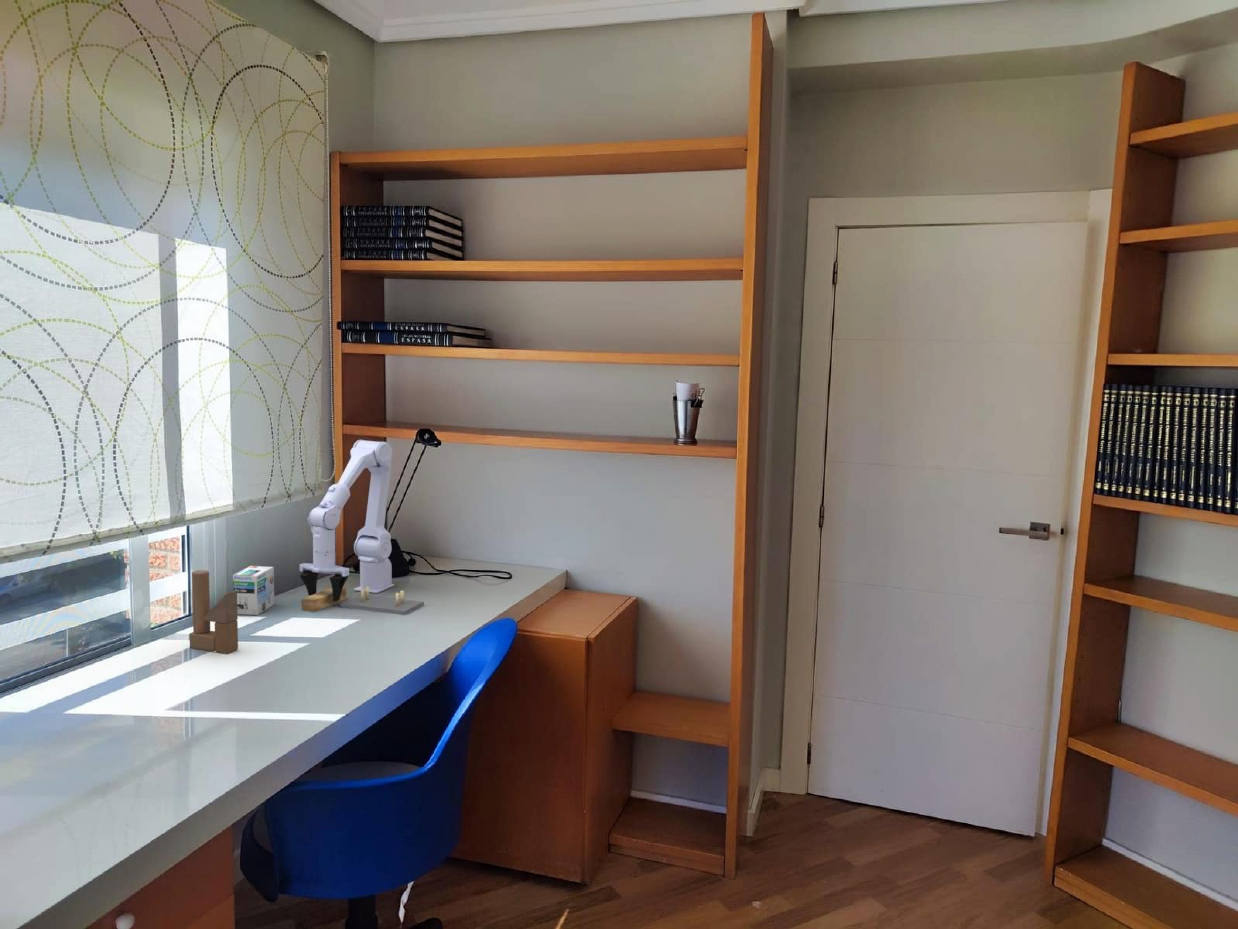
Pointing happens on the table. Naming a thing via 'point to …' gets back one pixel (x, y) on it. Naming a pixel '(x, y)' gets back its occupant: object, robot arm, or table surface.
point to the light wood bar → (321, 600)
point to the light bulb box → (254, 589)
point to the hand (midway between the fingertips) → (324, 599)
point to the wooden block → (213, 617)
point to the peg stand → (382, 603)
